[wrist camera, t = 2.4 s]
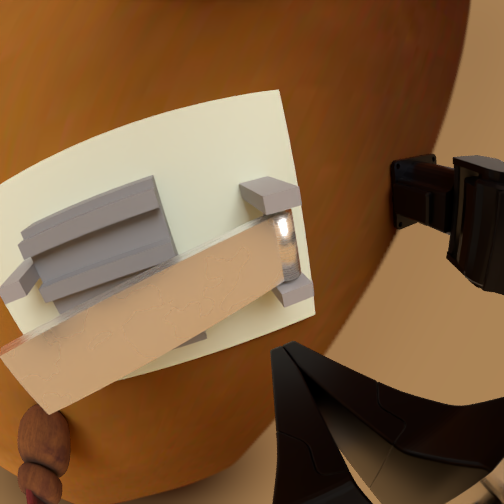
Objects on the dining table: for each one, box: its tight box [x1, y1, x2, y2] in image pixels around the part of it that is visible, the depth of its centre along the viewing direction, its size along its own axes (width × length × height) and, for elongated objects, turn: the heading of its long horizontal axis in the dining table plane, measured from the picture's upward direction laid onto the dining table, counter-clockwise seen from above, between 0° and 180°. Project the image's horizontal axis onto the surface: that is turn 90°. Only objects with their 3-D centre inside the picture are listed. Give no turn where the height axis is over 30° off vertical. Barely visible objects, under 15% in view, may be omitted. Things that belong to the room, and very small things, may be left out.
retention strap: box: [0, 208, 301, 415], centre depth 13 cm, size 17×4×2 cm, turn 103°
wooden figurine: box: [18, 405, 70, 504], centre depth 14 cm, size 7×6×15 cm
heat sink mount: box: [0, 90, 315, 381], centre depth 16 cm, size 24×18×6 cm
